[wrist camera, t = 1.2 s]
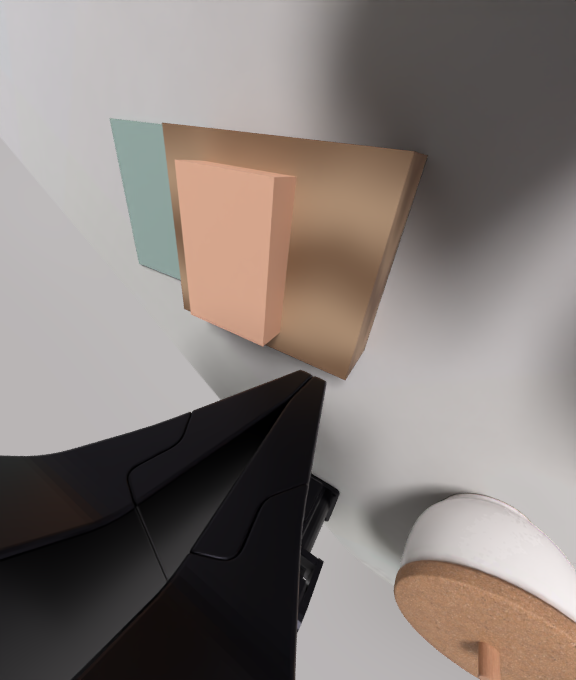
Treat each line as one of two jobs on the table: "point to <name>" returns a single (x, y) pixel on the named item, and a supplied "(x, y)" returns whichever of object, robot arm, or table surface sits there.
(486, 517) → the lidded jar
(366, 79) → the table surface
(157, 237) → the panel
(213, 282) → the peach upright slab
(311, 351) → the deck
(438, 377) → the table surface
